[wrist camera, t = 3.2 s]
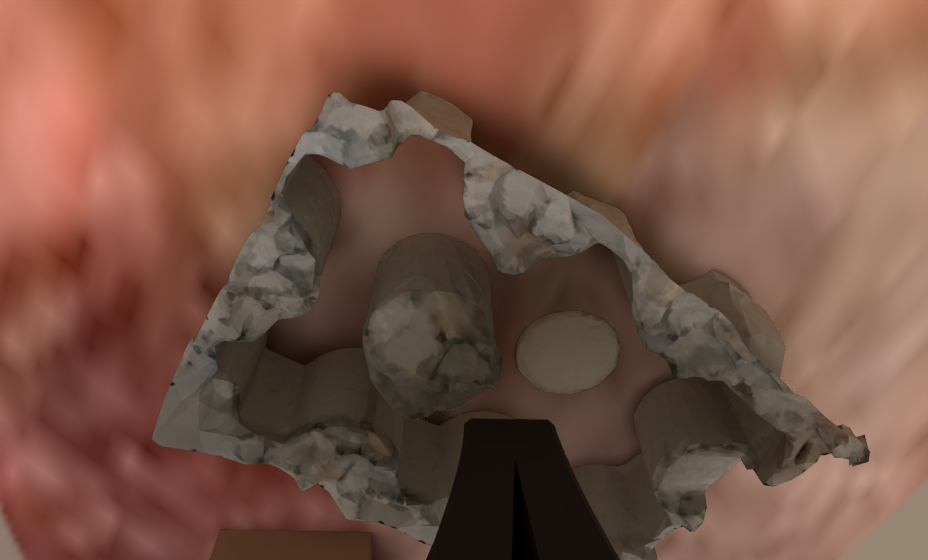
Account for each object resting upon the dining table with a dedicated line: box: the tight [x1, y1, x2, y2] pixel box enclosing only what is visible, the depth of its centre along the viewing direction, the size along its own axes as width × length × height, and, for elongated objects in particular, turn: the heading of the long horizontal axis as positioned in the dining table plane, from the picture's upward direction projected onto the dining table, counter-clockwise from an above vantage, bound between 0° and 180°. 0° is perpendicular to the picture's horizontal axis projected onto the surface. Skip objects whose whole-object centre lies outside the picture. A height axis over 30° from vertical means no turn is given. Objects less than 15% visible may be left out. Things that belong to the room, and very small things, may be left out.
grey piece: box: [152, 91, 870, 560], centre depth 12 cm, size 11×8×4 cm
